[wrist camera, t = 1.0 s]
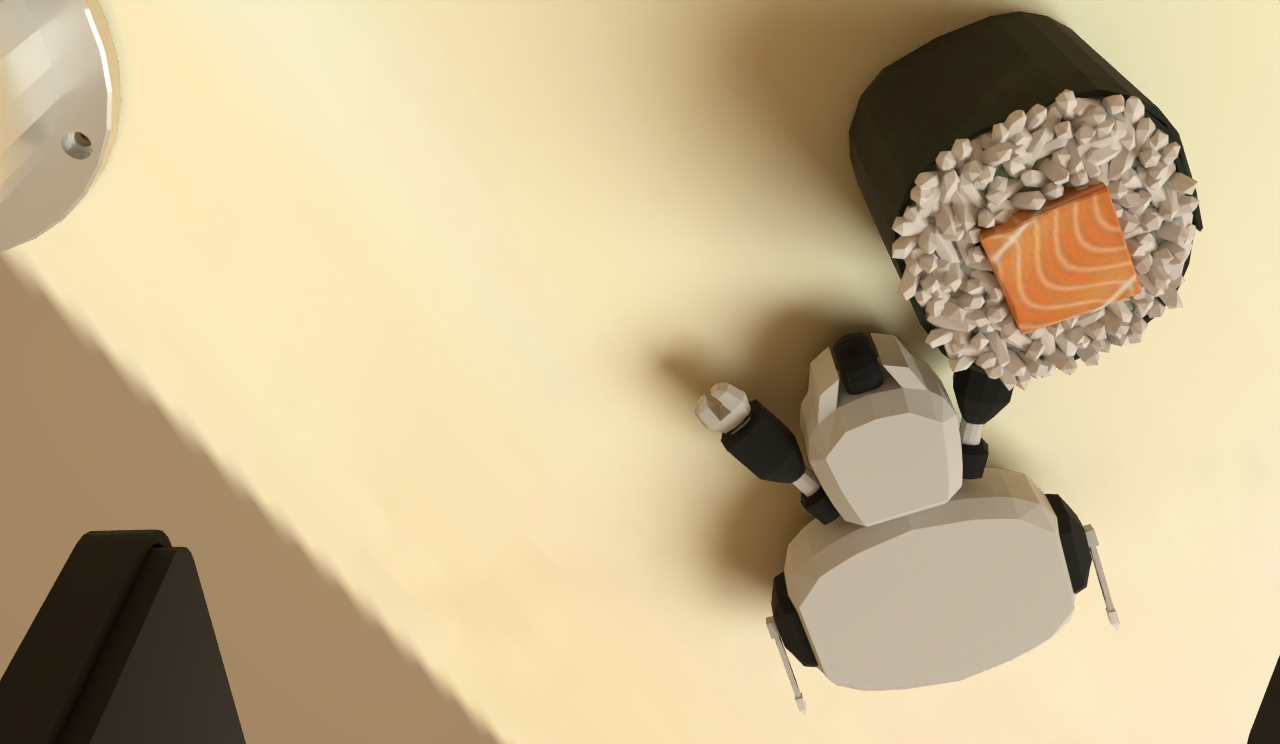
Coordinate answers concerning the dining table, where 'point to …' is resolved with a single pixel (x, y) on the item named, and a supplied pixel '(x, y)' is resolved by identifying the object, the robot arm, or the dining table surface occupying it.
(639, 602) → the dining table surface
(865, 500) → the robot toy
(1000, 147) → the sushi
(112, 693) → the robot arm
